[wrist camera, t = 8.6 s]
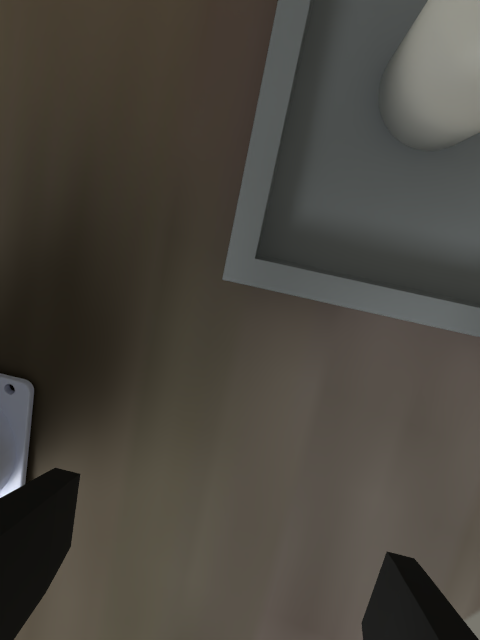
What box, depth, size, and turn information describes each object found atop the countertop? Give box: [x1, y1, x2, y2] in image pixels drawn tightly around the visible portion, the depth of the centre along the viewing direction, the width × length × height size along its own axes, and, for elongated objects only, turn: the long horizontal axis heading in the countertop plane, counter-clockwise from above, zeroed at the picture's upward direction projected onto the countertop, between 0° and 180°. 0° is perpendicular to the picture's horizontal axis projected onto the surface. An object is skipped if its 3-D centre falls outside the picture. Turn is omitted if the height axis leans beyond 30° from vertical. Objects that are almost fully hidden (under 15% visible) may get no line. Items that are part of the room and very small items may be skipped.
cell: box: [379, 0, 480, 151], centre depth 11 cm, size 4×4×7 cm
